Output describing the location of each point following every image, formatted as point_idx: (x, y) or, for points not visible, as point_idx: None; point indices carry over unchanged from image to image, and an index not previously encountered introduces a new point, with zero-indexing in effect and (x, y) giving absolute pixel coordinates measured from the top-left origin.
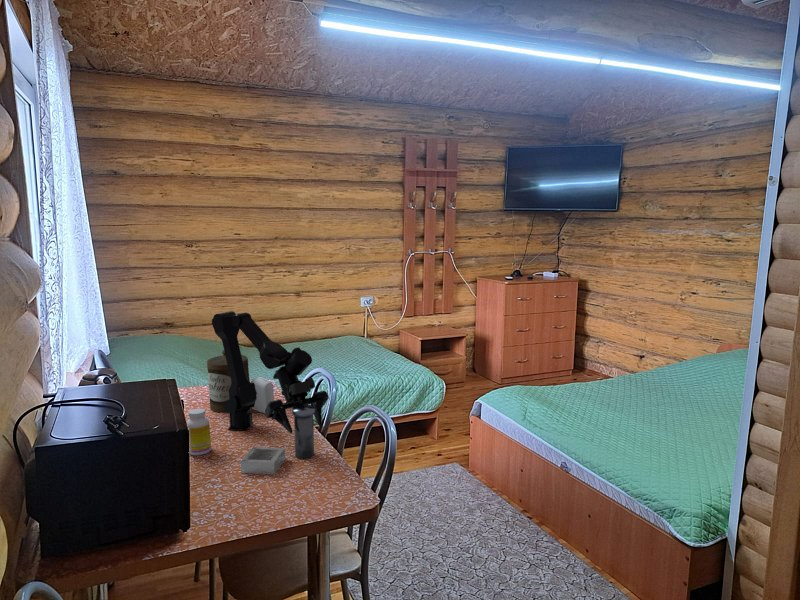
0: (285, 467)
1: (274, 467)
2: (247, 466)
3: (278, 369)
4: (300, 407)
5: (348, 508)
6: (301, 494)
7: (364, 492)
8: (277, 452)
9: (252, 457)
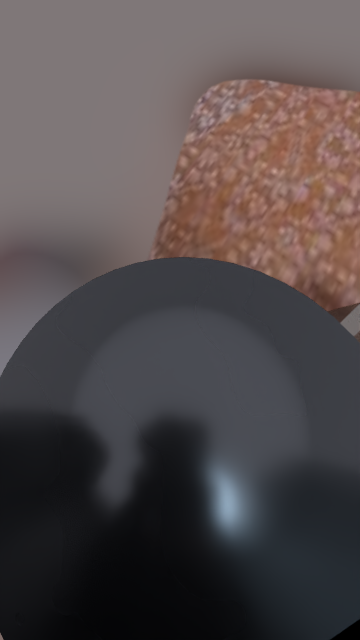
0: None
1: (342, 308)
2: None
3: None
4: (191, 573)
5: (257, 91)
6: (311, 182)
7: (195, 122)
8: None
9: None
